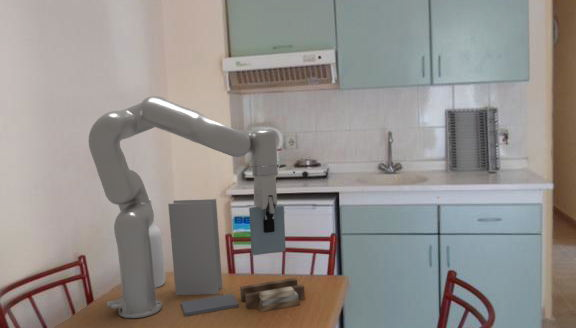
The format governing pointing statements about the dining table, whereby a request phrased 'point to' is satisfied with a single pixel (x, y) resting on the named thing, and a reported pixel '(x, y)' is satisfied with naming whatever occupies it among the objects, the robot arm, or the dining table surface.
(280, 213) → the blue grey brick
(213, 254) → the grey tall flat block
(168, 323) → the dining table surface
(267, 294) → the offcut stack
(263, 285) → the rack
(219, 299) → the slate mat
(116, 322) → the dining table surface
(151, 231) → the alcohol
